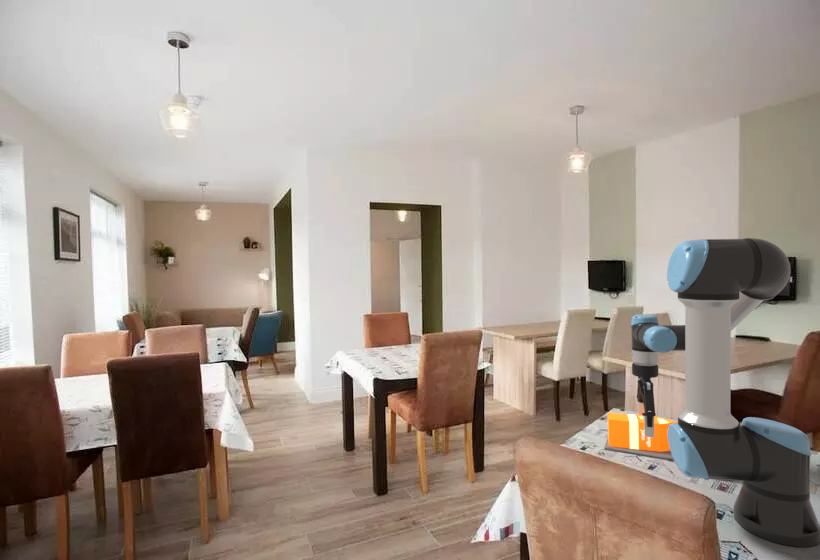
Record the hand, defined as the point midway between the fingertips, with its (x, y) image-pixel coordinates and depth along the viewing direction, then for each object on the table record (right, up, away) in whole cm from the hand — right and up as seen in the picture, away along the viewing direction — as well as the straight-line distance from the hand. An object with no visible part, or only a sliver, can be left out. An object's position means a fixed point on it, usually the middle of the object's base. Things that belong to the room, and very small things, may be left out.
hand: (645, 429), depth 144 cm
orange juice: (-10, -1, +5) cm, 11 cm away
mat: (-1, -6, +1) cm, 6 cm away
